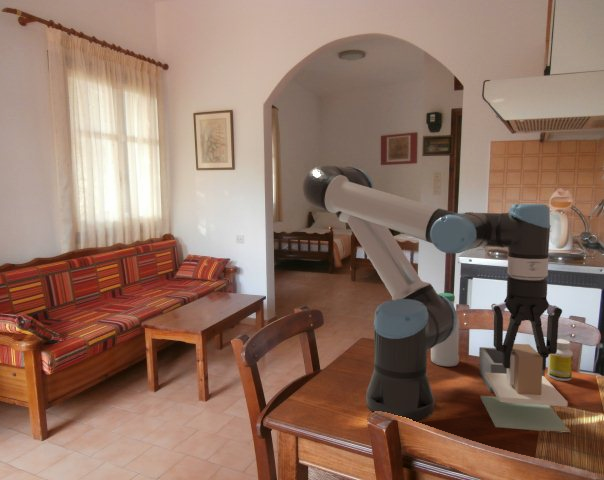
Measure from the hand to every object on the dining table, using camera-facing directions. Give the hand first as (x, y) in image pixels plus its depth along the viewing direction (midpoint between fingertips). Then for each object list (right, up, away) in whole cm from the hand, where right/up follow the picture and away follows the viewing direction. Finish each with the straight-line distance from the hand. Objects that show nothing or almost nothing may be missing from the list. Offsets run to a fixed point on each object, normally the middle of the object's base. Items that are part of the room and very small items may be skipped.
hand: (522, 382), depth 91 cm
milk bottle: (-7, -5, +30) cm, 31 cm away
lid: (0, -3, 0) cm, 2 cm away
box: (+5, -6, +16) cm, 18 cm away
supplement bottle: (+20, -5, +19) cm, 28 cm away
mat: (0, -7, +1) cm, 7 cm away
